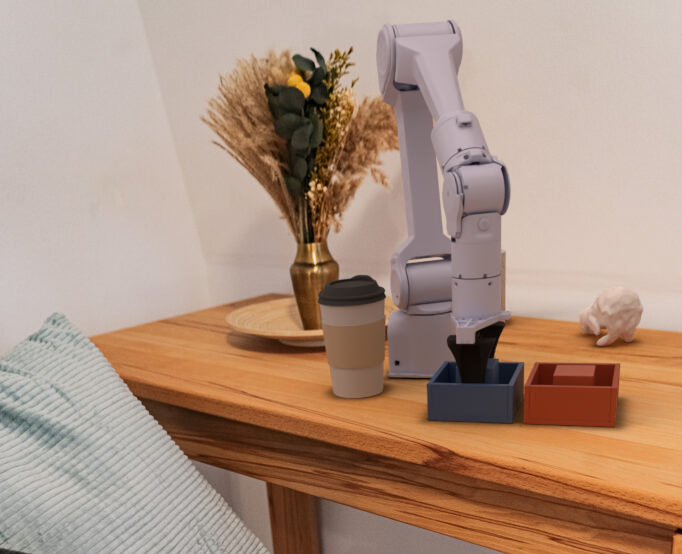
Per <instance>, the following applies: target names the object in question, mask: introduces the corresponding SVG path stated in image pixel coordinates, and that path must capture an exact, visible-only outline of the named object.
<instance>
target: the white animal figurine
mask: <svg viewBox="0 0 682 554" xmlns="http://www.w3.org/2000/svg"><path fill="white" fill-rule="evenodd" d="M643 312H644V305H643V304H642V303H641V298H640V297H639V294H638V293H637V292H636V291H635V290H632V289H631V288H629V287H627V286H625V285H617V286H609V287H606V288H605V289H604V290H603V291H601V293H599V294H598V295H597V296H596V298H595V300H594V301H593V302H592V304H590V305H589V304H588V305H587V306H586V307H584V308H583V310H582V311H581V312H580V313H579V324H580V325H579V326H578V327H579V329H580V330H581V331H582V332H583V334H587V335H595V336H599V335H600V333H601V332H605V331H603V330H607V334H605V335H604V336H602V337H600V338H599V339H598V340H597V341H596V345H597V346H598V347H606V346H609V345H612V344H613V343H614V342H615V341H616V340H617V339H619V337H620V338H621V340H622V341H623V342H625V343H631V342H633V340H634V336H635V334H636V329H637V327H638V326H639V325H640V322H641V320H642V314H643Z"/></svg>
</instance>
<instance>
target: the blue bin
mask: <svg viewBox="0 0 682 554" xmlns="http://www.w3.org/2000/svg"><path fill="white" fill-rule="evenodd" d="M456 367H457V363H456V361H445V362H444V363H443V364H442V365H441V367H440V368H439V369H438V370H437V372H436V373H435V374H434V376H433V377H432V378H429V381H428V382H427V383H426V401H427V402H426V403H427V404H426V407H427V421H438V422H439V421H440V422H467V423H493V424H513V423H514V420H515V418H516V416H517V414H518V411H519V409H520V407H521V404H522V402H523V401H524V386H525V361H499V384H471V383H456Z"/></svg>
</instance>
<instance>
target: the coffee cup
mask: <svg viewBox="0 0 682 554" xmlns="http://www.w3.org/2000/svg"><path fill="white" fill-rule="evenodd" d="M317 295H318V299H317V303H318V304H319V309H320V316H321V321H320V324H321V329H322V335H323V341H324V347H325V354H326V360H327V364H328V366H329V371H330V378H331V386H332V391H333V394H334V396H337V397H338V398H339V397H340V398H344V399H362V398H369V397H374V396H377V395H379V394H381V393H382V392H383V391H384V367H385V366H384V365H385V364H384V363H385V359H386V324H387V323H386V322H387V321H386V319H387V318H386V317H387V316H386V314H385V310H386V309H385V308H386V307H385V304H386V303H385V302H386V298H387V295H386V289H385V287H383V286H380V285H379V284H378V282H377V280H376V279H374V278H373V277H372V276H371V275H368V274H356V275H354V276H352V277H349V278H342V279H336V280H335V279H334V280H331V281H328V282H326V283H325V284H324V287H323V289H322V290H321V291H319V292H318V294H317Z"/></svg>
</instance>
